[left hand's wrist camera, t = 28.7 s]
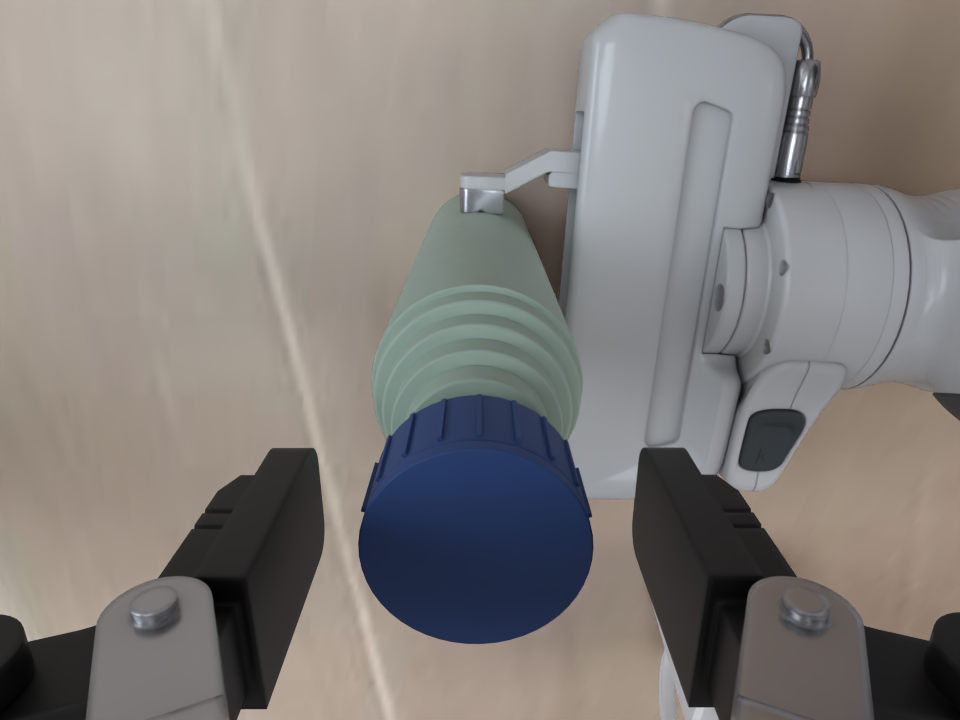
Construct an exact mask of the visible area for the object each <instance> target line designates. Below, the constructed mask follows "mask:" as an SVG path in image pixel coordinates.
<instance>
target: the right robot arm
mask: <svg viewBox="0 0 960 720" xmlns="http://www.w3.org/2000/svg"><path fill="white" fill-rule="evenodd" d="M799 46H800V48H801V54H802V60H797V56H798V51H799ZM820 76H821V62H820V61H818V60H813V46H812V42H811V38H810V36H809V34H808V33H807V31H806V30H805V28H804V27H803V26H802V25H801V24H800V23H799V22H798V21H796V20H794V19H793V18H791V17H788V16H784V15H774V14H754V13H745V14H739V15H736V16H732V17H730V18H728V19H726V20H725V21H723V22H722V23H721V24H719V25H718V26H717V27H716V26H712V25H707V24H702V23H698V22H693V21H687V20H682V19H676V18H670V17H663V16H655V15H646V14H634V13H621V14H615V15H612V16H610V17H608V18H607V19H605V20H604V21H602V22H601V23H600V24H599V25H597V26H596V27H595V28H594V29H593V30H592V31H591V32H590V33H589V34H588V36H587V37H586V38H585V39H584V41H583V43H582V46H581V53H580V64H579V76H578V87H577V98H576V110H575V121H574V132H573V144H572V149H550V148H545V149H543V150H541V151H539V152H537V153H535V154H534V155H532V156H530V157H528V158H526V159H524V160H523V161H521V162H519V163H517V164H515V165H513V166H511V167H510V168H508V169H506V170H504V174H500V173H477V172H466V173H461V175H460V212H464V213H477V212H478V211H480V210H482V211H483V212H485V213H490V214H503V200H504V193H505V194H507V193H509V192H511V191H513V190H514V189H516V188H518V187H520V186H522V185H524V184H526V183H528V182H530V181H532V180H534V179H536V178H538V177H540V176H541V175H543V174H544V180H545V182H546V183H547V184H548V185H549V186H550V187H553V188H569V189H568V201H567V212H566V223H565V235H564V246H563V258H562V269H561V280H560V292H559V303H558V304H559V306H560V309H561V311H562V314H563V316H564V319H565V321H566V324H567V326H568V329H569V331H570V333H571V336H572V338H573V341H574V343H575V346H576V348H577V351H578V353H579V357H580V361H581V365H582V374H583V391H582V397H581V404H580V410H579V415H578V418H577V421H576V425H575V427H574V429H573V432H572V434H571V436H570V438H569V439H568V442H569V446H570V450H571V453H572V457H573V461H574V465H575V468H579V471H580V474H581V478H582V481H583V485H584V489H585V492H586V496H587V498H589V499H635V490H636V480H637V470H638V460H639V454H640V451H641V449H642V448H644V447H683V448H685V449H686V450H687V451H688V453H689V454H690V456H691V458H692V459H693V461H694V463H695V464H696V466H697V468H698V469H699V471H700V473H701V474H702V475H717V473H719V474H720V475H721V476H722V477H723V479H724V480H725V481H726V482H727V483H728V484H730V485H731V486H733V487H734V488H735V489H737V490H742V491H762V490H766V489H768V488H769V487H771V486H772V485H773V484H774V483H775V482H776V480H777V479H778V478H779V476H780V475H781V473H782V472H783V470H784V468H785V467H786V465H787V463H788V462H789V460H790V458H791V457H792V455H793V453H794V452H795V450H796V449H797V447H798V445H799V444H800V442H801V441H802V439H803V438H804V436H805V435H806V433H807V432H808V430H809V429H810V427H811V426H812V424H813V423H814V421H815V420H816V419H817V417H818V416H819V415H820V413H821V412H822V411H823V409H824V408H825V407H826V405H827V404H828V403H829V402H830V401H831V399H832V398H833V397H834V396H835V394H836V393H837V392H838V390H839V389H854V388H860V387H865V386H869V385H873V384H878V383H884V382H897V383H903V384H906V385H909V386H912V387H915V388H918V389H921V390H925V391H929V392H934V393H933V396H934V397H935V398H936V399H937V400H938V401H939V403H940V404H941V405H942V406H943V407H944V408H945V409H946V410H948V411H949V412H950V413H951V414H952V415H953V416H955V417H956V418H957V419H958V420H960V189H952V190H946V191H942V192H938V193H935V194H930V195H925V196H913V195H908V194H904V193H901V192H899V191H896V190H894V189H891V188H888V187H884V186H881V185H874V184H859V183H835V182H812V181H802V180H800V174H801V170H802V165H803V160H804V155H805V150H806V145H807V139H808V133H807V132H808V131H809V126H808V124H809V117H810V113H811V111H810V110H811V108H812V103H813V99H814V97H816V94H817V92H818V88H819V83H820ZM770 178H771V180H770Z"/></svg>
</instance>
